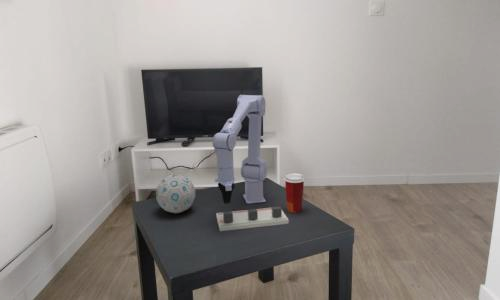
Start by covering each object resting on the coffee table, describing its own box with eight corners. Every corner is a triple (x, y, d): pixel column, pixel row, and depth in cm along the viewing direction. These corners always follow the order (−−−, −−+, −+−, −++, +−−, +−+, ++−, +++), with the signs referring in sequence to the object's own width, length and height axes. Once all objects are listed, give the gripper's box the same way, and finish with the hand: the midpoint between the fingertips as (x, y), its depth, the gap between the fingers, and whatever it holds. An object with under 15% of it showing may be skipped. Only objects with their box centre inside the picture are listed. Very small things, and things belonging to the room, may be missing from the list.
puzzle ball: (149, 215, 146) (145, 178, 142) (174, 201, 159) (171, 167, 155) (180, 222, 139) (177, 184, 135) (204, 207, 152) (201, 172, 148)
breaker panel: (216, 216, 143) (216, 213, 142) (279, 210, 147) (279, 206, 147) (219, 231, 132) (219, 227, 131) (288, 223, 136) (288, 219, 136)
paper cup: (305, 206, 150) (305, 173, 146) (302, 214, 143) (303, 180, 139) (286, 205, 152) (286, 172, 148) (282, 213, 145) (282, 178, 141)
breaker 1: (223, 220, 136) (223, 212, 135) (232, 219, 136) (231, 211, 135) (224, 222, 134) (223, 214, 133) (233, 221, 134) (232, 214, 133)
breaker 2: (247, 217, 137) (247, 209, 137) (256, 216, 138) (256, 208, 137) (248, 219, 136) (248, 212, 135) (257, 218, 136) (257, 211, 135)
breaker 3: (271, 214, 139) (271, 207, 138) (280, 214, 140) (280, 206, 139) (273, 217, 137) (273, 209, 136) (281, 216, 138) (281, 208, 137)
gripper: (211, 161, 138) (213, 196, 141) (216, 173, 124) (218, 211, 127) (231, 160, 139) (232, 194, 142) (237, 172, 125) (238, 209, 129)
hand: (226, 202), depth 135 cm, fingers closed
